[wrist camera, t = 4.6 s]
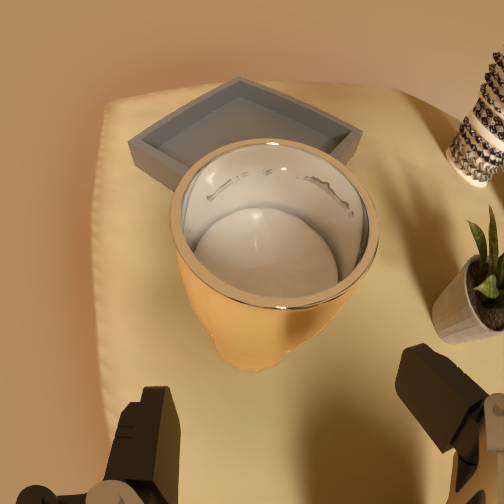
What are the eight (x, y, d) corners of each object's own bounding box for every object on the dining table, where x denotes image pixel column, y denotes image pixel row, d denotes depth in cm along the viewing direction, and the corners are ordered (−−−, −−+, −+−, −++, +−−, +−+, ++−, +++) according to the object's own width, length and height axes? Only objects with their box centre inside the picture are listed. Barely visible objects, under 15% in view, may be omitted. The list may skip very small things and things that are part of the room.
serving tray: (238, 97, 38) (238, 76, 34) (354, 153, 33) (362, 131, 30) (134, 165, 30) (127, 141, 27) (267, 255, 25) (272, 233, 22)
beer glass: (228, 391, 19) (212, 362, 6) (193, 308, 22) (142, 164, 9) (313, 353, 21) (424, 257, 8) (273, 277, 24) (312, 121, 11)
